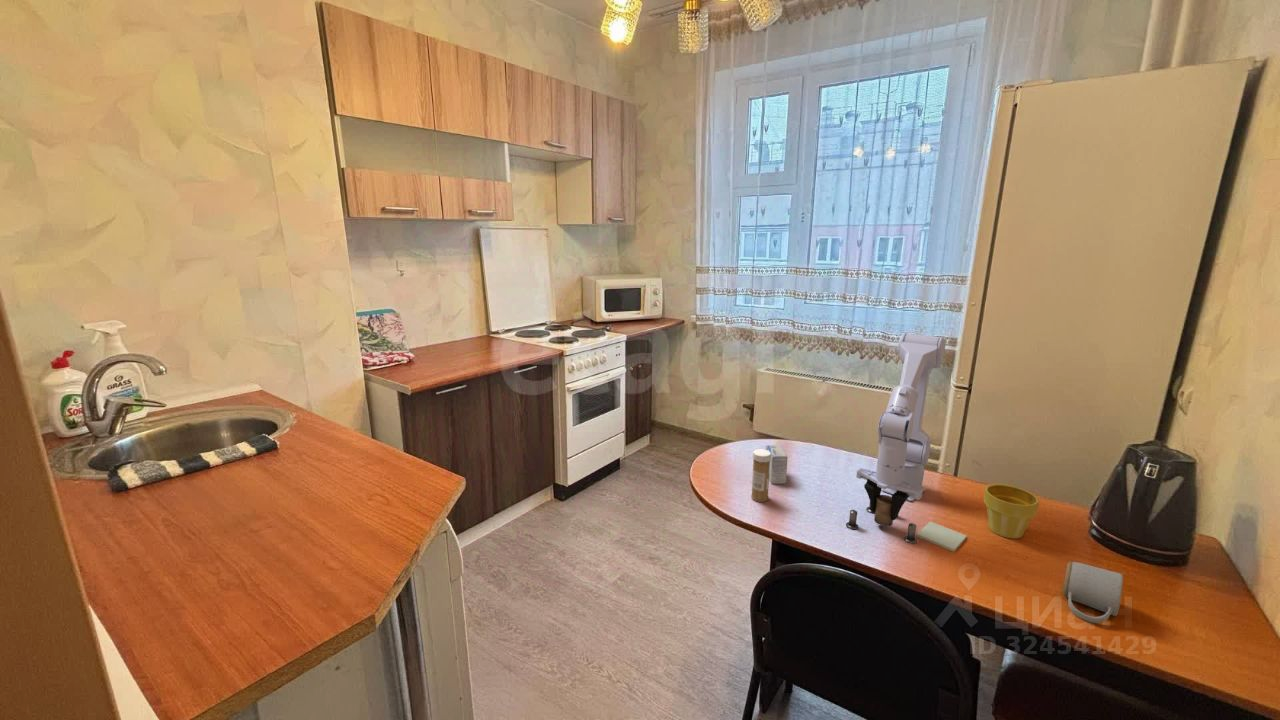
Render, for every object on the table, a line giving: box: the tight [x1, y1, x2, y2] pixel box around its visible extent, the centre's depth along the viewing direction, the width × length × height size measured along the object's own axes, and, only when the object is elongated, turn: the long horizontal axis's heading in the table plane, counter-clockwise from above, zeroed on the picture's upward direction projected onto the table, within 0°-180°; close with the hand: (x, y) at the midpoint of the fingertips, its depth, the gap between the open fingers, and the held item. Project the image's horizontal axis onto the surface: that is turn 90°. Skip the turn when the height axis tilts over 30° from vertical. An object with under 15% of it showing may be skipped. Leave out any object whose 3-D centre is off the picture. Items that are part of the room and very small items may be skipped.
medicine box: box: [765, 444, 789, 485], centre depth 147 cm, size 8×4×9 cm, turn 179°
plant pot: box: [983, 483, 1040, 540], centre depth 120 cm, size 10×10×10 cm
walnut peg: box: [873, 494, 894, 527], centre depth 122 cm, size 4×4×6 cm
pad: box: [916, 521, 968, 553], centre depth 119 cm, size 8×8×1 cm
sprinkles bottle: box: [751, 448, 771, 503], centre depth 135 cm, size 5×5×14 cm
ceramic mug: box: [1062, 561, 1124, 624], centre depth 96 cm, size 11×8×8 cm
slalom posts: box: [845, 503, 918, 545], centre depth 122 cm, size 15×14×4 cm
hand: (884, 514), depth 122 cm, fingers closed on walnut peg, 4 cm apart
